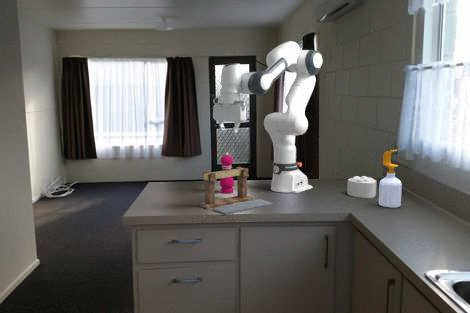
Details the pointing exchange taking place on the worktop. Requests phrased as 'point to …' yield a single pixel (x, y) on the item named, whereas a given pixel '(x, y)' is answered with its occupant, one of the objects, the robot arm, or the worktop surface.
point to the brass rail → (225, 173)
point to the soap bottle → (390, 185)
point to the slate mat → (242, 206)
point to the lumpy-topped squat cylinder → (362, 187)
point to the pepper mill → (228, 181)
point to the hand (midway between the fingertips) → (228, 131)
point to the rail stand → (213, 203)
